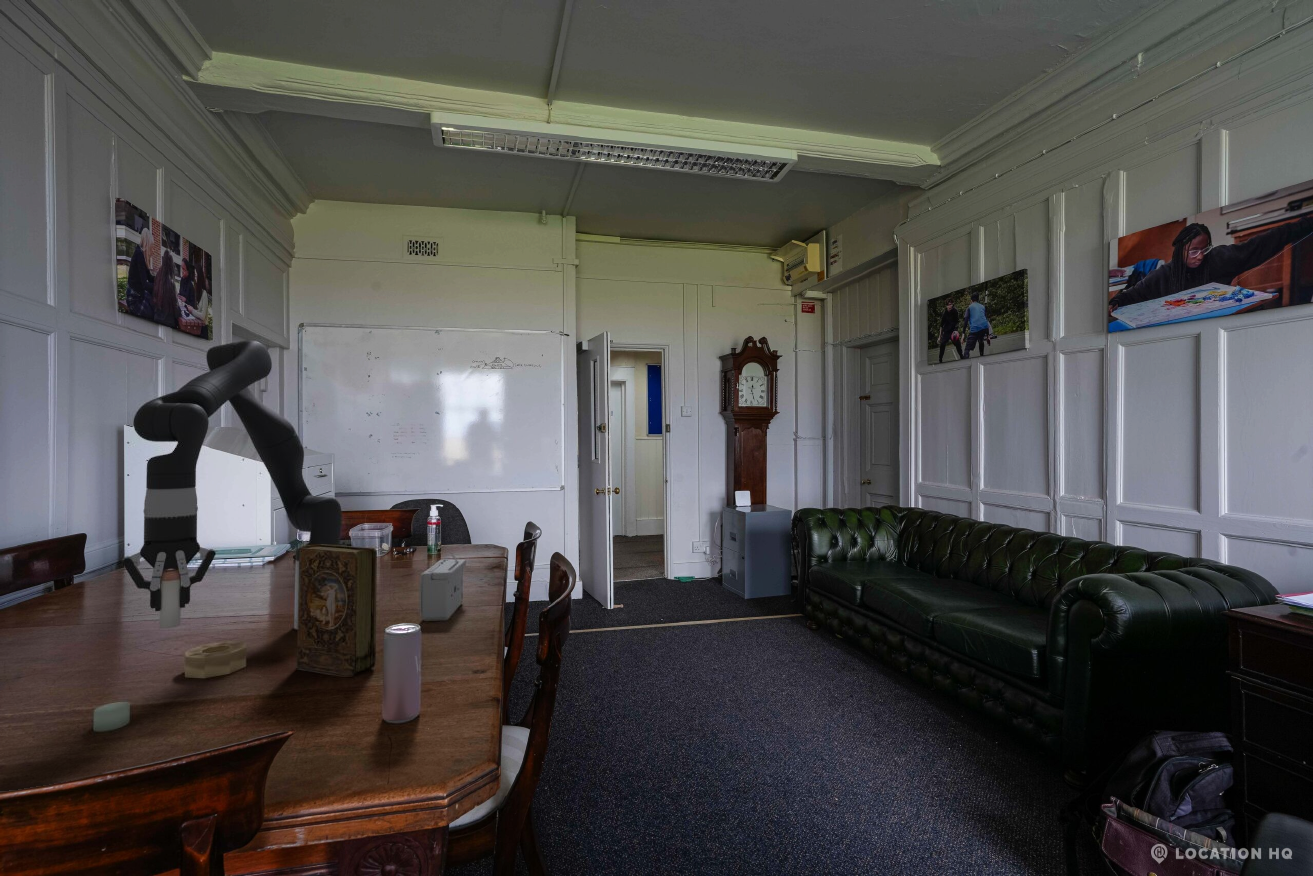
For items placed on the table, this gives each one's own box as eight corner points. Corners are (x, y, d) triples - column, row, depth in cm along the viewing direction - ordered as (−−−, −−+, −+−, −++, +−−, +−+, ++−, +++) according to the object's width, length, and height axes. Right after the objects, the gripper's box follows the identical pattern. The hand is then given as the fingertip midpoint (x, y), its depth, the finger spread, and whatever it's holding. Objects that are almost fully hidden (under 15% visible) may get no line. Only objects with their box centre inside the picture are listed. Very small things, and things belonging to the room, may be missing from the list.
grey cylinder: (180, 622, 112) (181, 568, 112) (180, 626, 110) (181, 570, 110) (159, 625, 110) (159, 570, 110) (159, 629, 108) (160, 573, 108)
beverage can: (389, 709, 106) (390, 623, 106) (424, 709, 107) (425, 623, 107) (376, 725, 100) (378, 633, 101) (413, 724, 101) (415, 633, 101)
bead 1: (130, 717, 103) (130, 699, 103) (128, 726, 99) (129, 708, 99) (94, 724, 100) (95, 706, 100) (92, 734, 96) (92, 715, 96)
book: (292, 668, 126) (294, 547, 126) (315, 660, 131) (317, 543, 131) (354, 678, 120) (356, 552, 121) (375, 669, 126) (377, 548, 126)
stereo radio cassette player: (437, 603, 180) (438, 536, 181) (466, 603, 181) (467, 535, 182) (417, 623, 160) (419, 547, 160) (450, 622, 161) (451, 546, 161)
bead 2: (242, 657, 132) (242, 638, 132) (247, 670, 125) (247, 650, 125) (184, 667, 126) (184, 648, 126) (185, 681, 118) (186, 661, 118)
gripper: (217, 508, 117) (216, 598, 117) (120, 514, 108) (119, 611, 108) (220, 512, 112) (219, 606, 111) (118, 518, 103) (117, 620, 102)
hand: (170, 608), depth 110 cm, fingers closed on grey cylinder, 3 cm apart
